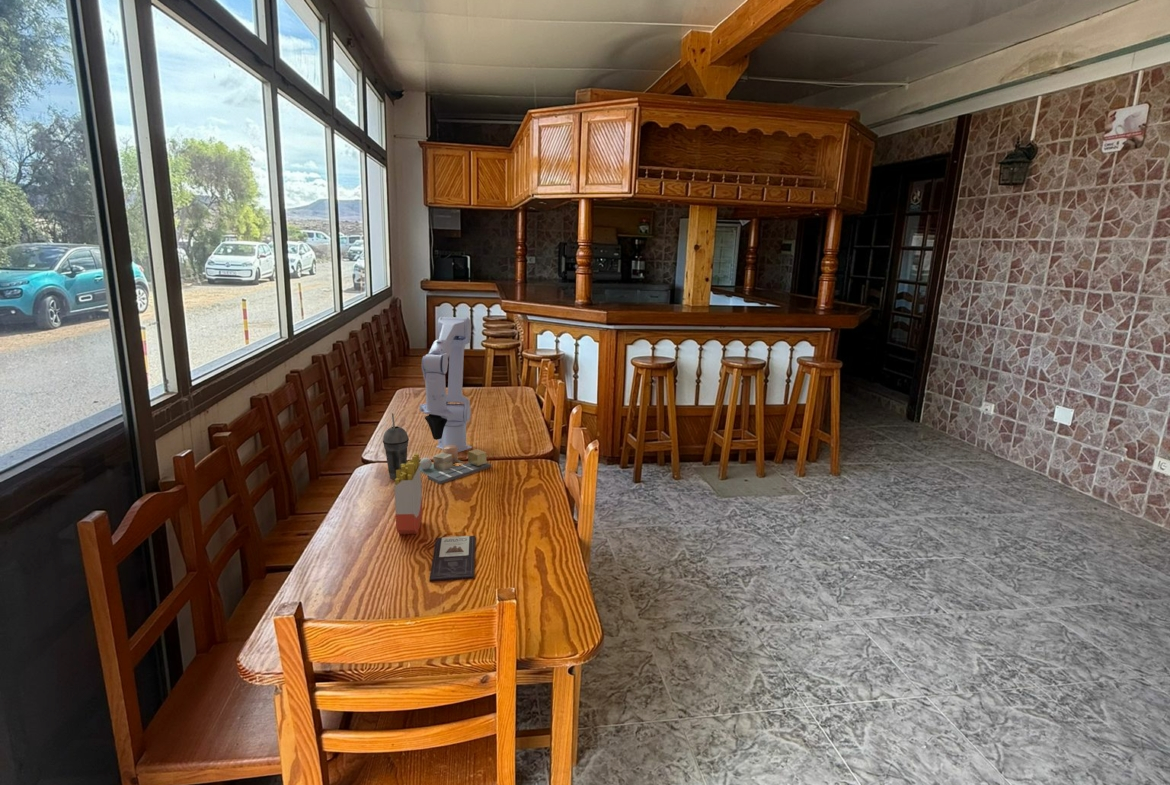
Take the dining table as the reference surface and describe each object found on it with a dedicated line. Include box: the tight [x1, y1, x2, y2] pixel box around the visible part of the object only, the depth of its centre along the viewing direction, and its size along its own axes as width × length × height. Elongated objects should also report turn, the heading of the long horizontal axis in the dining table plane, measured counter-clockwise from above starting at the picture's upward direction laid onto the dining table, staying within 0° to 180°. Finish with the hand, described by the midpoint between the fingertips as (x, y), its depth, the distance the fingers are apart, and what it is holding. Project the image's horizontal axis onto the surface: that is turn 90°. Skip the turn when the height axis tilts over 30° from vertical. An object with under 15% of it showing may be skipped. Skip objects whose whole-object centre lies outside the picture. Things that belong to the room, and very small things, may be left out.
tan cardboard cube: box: [467, 448, 487, 466], centre depth 185 cm, size 4×4×4 cm
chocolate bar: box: [429, 535, 476, 583], centre depth 133 cm, size 9×1×18 cm
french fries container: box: [394, 453, 423, 535], centre depth 144 cm, size 5×11×18 cm, turn 5°
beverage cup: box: [382, 412, 410, 481], centre depth 174 cm, size 7×7×20 cm
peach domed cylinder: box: [442, 445, 459, 464], centre depth 188 cm, size 4×4×5 cm
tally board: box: [427, 461, 492, 485], centre depth 181 cm, size 6×19×1 cm, turn 139°
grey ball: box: [419, 457, 433, 470], centre depth 182 cm, size 4×4×4 cm
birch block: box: [433, 452, 453, 471], centre depth 184 cm, size 4×4×4 cm
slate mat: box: [420, 459, 465, 476], centre depth 185 cm, size 8×14×1 cm, turn 139°
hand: (437, 438), depth 180 cm, fingers closed
